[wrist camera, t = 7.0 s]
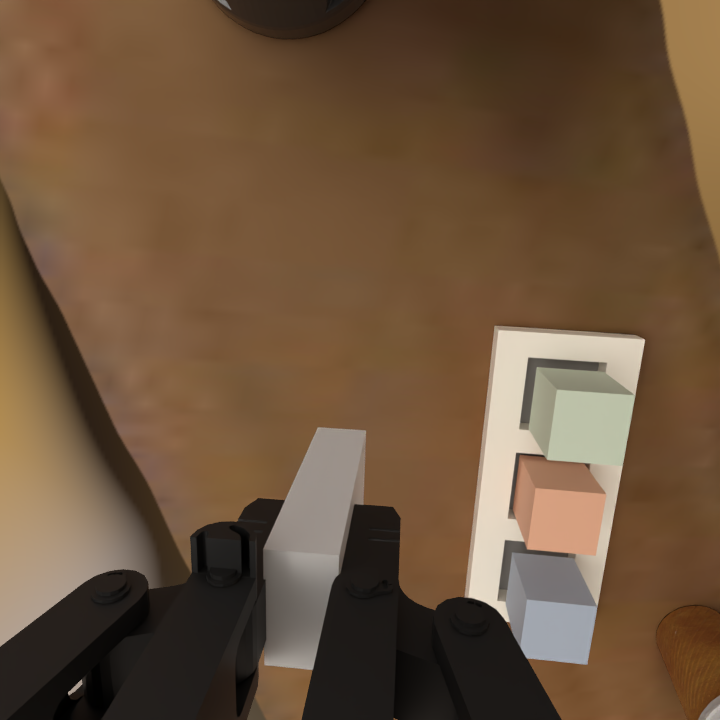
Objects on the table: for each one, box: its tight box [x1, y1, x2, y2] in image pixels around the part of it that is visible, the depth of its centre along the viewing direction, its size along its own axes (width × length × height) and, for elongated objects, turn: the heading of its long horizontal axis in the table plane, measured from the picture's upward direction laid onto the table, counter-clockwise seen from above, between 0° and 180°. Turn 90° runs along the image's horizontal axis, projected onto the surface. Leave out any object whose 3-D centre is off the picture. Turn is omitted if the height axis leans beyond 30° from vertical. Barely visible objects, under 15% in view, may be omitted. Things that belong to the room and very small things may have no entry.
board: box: [465, 326, 645, 622], centre depth 46 cm, size 26×11×2 cm, turn 177°
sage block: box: [529, 367, 635, 466], centre depth 40 cm, size 5×5×6 cm
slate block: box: [506, 552, 597, 665], centre depth 44 cm, size 5×5×6 cm
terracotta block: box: [513, 455, 606, 556], centre depth 43 cm, size 5×5×6 cm
